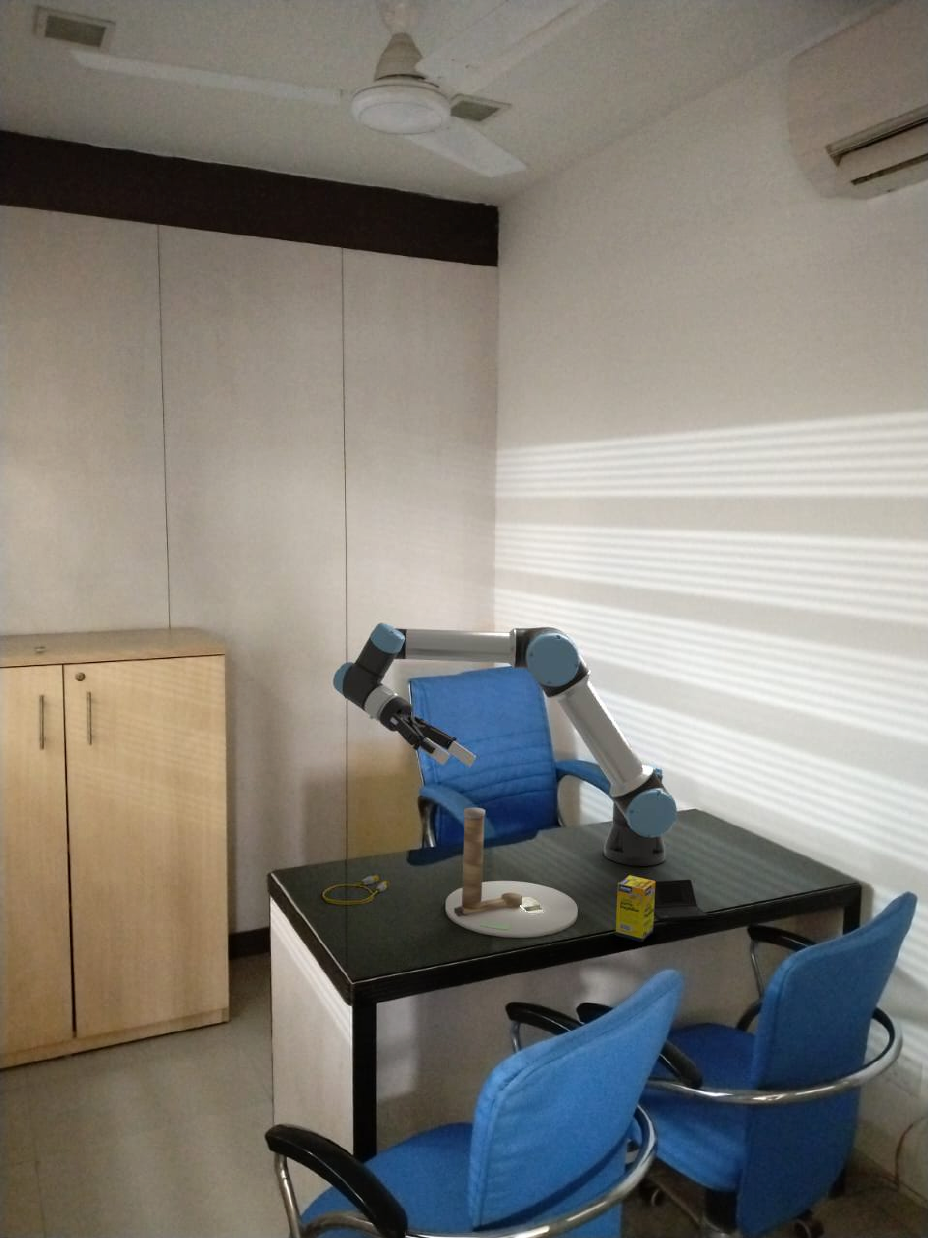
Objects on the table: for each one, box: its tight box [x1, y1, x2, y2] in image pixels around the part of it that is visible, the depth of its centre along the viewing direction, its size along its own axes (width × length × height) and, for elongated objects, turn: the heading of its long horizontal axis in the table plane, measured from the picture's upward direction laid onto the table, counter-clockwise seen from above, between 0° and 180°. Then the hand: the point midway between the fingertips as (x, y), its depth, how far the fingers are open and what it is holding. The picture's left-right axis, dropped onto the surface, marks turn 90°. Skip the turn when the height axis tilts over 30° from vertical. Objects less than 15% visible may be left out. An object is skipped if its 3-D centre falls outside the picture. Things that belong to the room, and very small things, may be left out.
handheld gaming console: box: [654, 879, 708, 923], centre depth 214 cm, size 12×7×10 cm
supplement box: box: [614, 875, 657, 943], centre depth 202 cm, size 6×6×11 cm
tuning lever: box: [454, 807, 522, 915], centre depth 208 cm, size 16×4×21 cm, turn 121°
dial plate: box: [445, 880, 579, 939], centre depth 213 cm, size 28×28×1 cm
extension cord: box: [322, 875, 390, 906], centre depth 220 cm, size 12×16×2 cm
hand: (460, 761), depth 218 cm, fingers open, 13 cm apart
